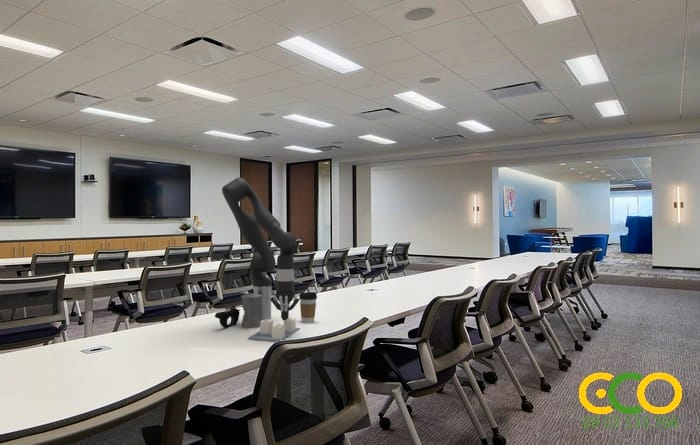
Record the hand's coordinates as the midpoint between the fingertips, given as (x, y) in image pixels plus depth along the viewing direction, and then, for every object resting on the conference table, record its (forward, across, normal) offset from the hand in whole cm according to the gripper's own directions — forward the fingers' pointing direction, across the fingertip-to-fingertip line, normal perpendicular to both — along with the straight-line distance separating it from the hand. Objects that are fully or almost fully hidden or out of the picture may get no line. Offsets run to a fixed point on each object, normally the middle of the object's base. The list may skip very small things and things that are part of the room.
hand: (285, 319), depth 189 cm
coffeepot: (+8, -20, +11) cm, 24 cm away
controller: (+7, -30, +7) cm, 32 cm away
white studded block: (+6, 0, +6) cm, 8 cm away
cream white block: (+6, -8, -1) cm, 10 cm away
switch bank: (+7, -4, -1) cm, 8 cm away
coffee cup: (+8, +2, +25) cm, 26 cm away
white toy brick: (+6, 0, -7) cm, 9 cm away
